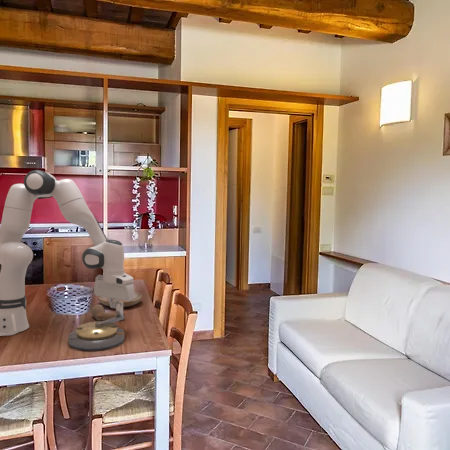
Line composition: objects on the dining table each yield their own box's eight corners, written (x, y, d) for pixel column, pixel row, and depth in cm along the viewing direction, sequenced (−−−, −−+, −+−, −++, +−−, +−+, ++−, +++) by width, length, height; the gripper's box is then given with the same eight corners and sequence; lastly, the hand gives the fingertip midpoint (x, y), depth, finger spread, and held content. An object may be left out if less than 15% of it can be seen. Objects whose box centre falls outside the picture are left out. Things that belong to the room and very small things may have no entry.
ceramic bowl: (97, 312, 218) (97, 302, 218) (97, 299, 241) (97, 290, 240) (144, 309, 225) (144, 300, 224) (139, 297, 247) (140, 289, 247)
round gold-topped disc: (96, 343, 168) (96, 318, 167) (67, 335, 176) (67, 311, 175) (136, 327, 188) (136, 304, 187) (109, 320, 196) (109, 298, 195)
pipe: (124, 312, 204) (126, 303, 213) (88, 312, 202) (92, 303, 211) (124, 324, 205) (126, 315, 215) (88, 325, 203) (92, 315, 213)
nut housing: (71, 354, 165) (71, 346, 164) (66, 335, 185) (66, 328, 184) (129, 346, 174) (129, 338, 174) (118, 329, 194) (118, 322, 194)
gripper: (90, 275, 191) (90, 306, 193) (127, 281, 182) (127, 313, 184) (100, 272, 197) (100, 302, 198) (136, 278, 188) (136, 309, 189)
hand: (113, 307), depth 191 cm, fingers closed
